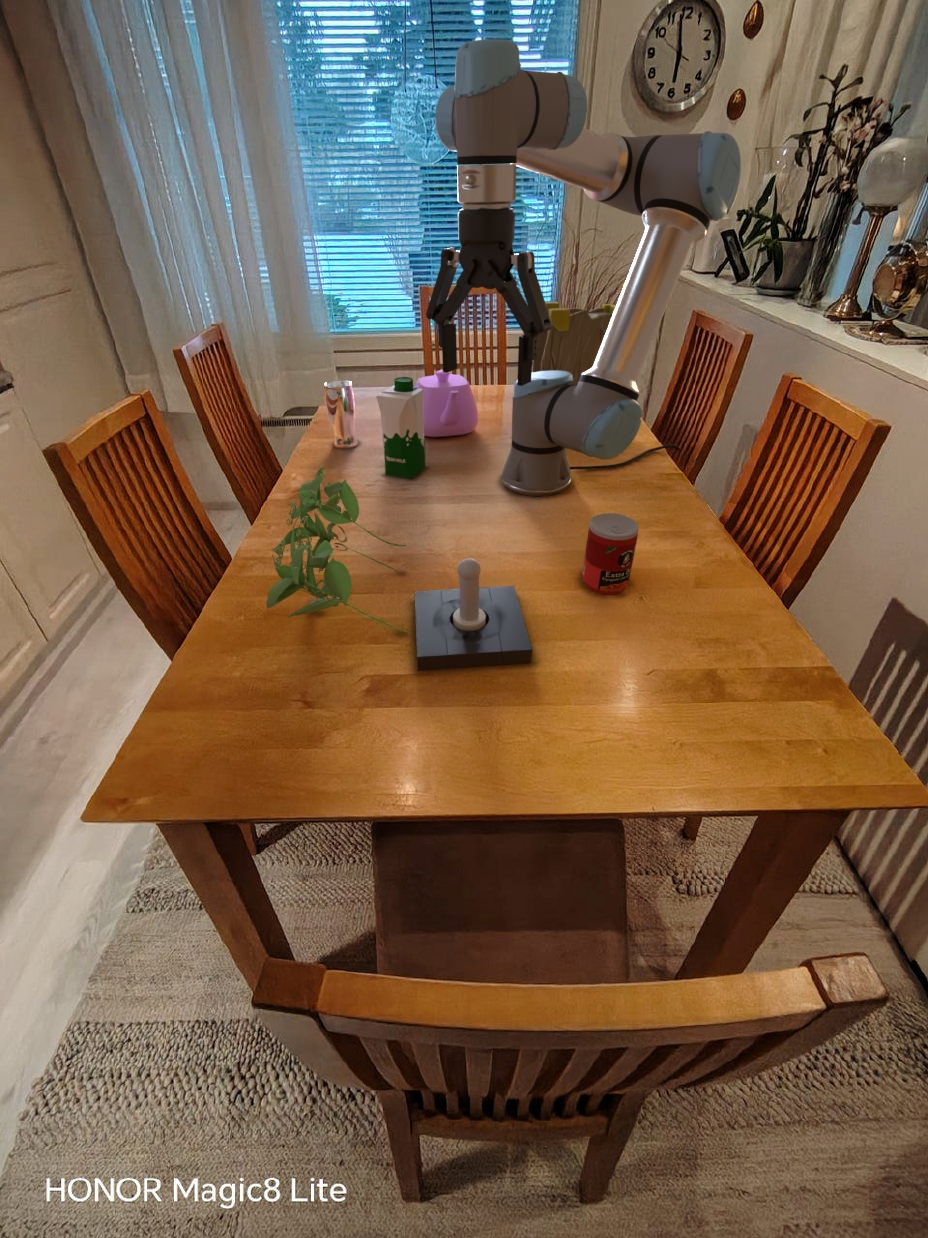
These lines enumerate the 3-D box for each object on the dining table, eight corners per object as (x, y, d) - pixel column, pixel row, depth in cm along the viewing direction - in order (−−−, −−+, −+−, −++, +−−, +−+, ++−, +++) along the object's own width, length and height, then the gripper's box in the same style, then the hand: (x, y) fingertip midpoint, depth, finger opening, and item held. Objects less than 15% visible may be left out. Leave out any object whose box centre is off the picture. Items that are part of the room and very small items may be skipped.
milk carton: (430, 466, 139) (426, 378, 127) (413, 481, 132) (408, 389, 120) (397, 461, 141) (390, 374, 129) (379, 476, 135) (370, 385, 123)
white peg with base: (483, 620, 91) (484, 550, 83) (487, 640, 87) (488, 568, 80) (452, 622, 91) (450, 551, 83) (454, 642, 87) (453, 570, 79)
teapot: (394, 423, 163) (389, 366, 154) (468, 417, 166) (468, 360, 157) (407, 454, 145) (402, 391, 136) (489, 446, 149) (490, 384, 140)
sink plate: (513, 598, 96) (514, 585, 94) (531, 663, 83) (532, 649, 81) (415, 603, 95) (414, 591, 93) (418, 670, 82) (417, 657, 80)
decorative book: (598, 420, 163) (613, 298, 145) (611, 434, 155) (630, 306, 136) (527, 424, 161) (534, 301, 143) (537, 439, 152) (545, 310, 134)
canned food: (601, 600, 95) (611, 540, 88) (572, 576, 101) (579, 518, 94) (638, 588, 98) (650, 529, 91) (607, 565, 103) (617, 508, 97)
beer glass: (354, 450, 147) (346, 388, 138) (328, 448, 149) (318, 386, 139) (363, 440, 153) (356, 380, 144) (338, 438, 154) (329, 378, 145)
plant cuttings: (376, 579, 113) (267, 521, 103) (426, 512, 105) (314, 443, 96) (371, 712, 85) (221, 649, 76) (439, 633, 78) (282, 553, 68)
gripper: (395, 207, 80) (407, 370, 93) (557, 208, 68) (545, 396, 81) (429, 204, 85) (436, 360, 98) (586, 205, 73) (570, 382, 86)
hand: (485, 376), depth 90 cm, fingers open, 13 cm apart
